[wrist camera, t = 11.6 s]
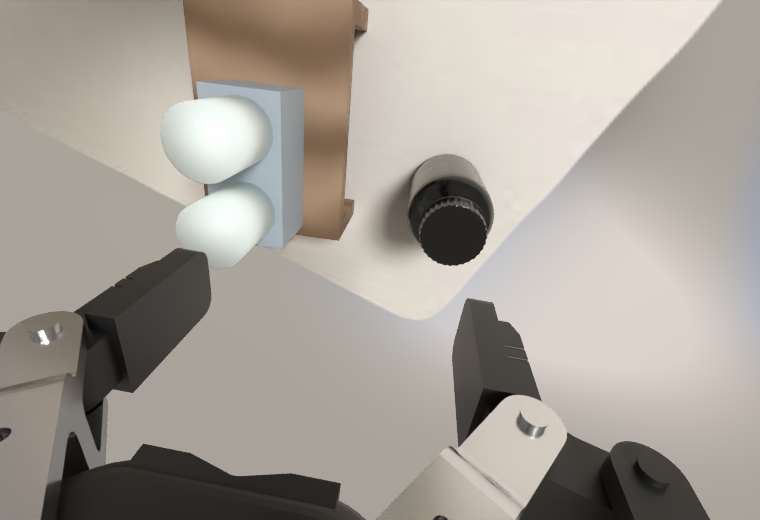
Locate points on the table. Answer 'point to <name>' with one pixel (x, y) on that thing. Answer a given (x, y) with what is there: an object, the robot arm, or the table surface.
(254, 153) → the salt and pepper set
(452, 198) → the supplement bottle
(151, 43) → the table surface
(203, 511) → the robot arm
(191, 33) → the walnut shelf
